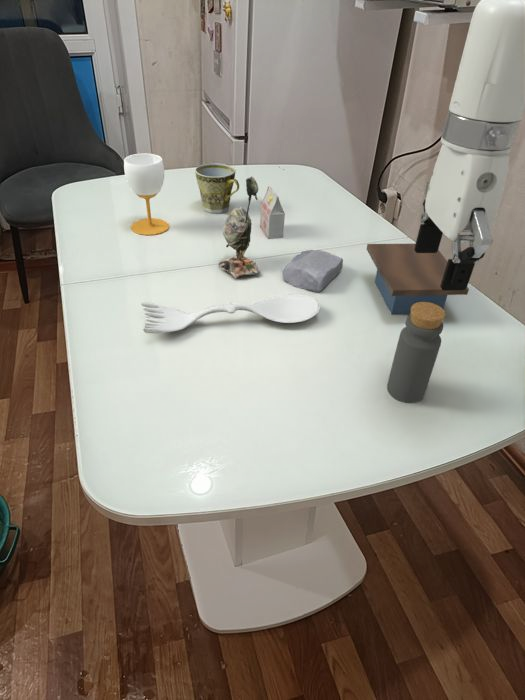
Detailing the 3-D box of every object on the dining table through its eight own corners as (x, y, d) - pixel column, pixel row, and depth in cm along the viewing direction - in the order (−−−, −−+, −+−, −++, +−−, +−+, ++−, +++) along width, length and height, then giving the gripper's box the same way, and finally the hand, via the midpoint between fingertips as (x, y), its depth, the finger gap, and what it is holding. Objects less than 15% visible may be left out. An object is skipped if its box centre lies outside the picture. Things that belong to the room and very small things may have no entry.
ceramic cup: (188, 208, 132) (186, 169, 126) (216, 198, 138) (215, 160, 132) (224, 223, 126) (224, 183, 120) (251, 212, 132) (252, 173, 126)
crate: (420, 281, 107) (427, 255, 103) (442, 313, 98) (450, 286, 94) (374, 281, 106) (379, 255, 102) (391, 314, 97) (397, 287, 93)
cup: (123, 231, 120) (113, 162, 110) (143, 216, 127) (136, 150, 117) (157, 238, 118) (150, 168, 108) (176, 223, 125) (171, 156, 115)
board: (432, 248, 106) (433, 243, 105) (467, 294, 92) (469, 289, 91) (366, 249, 105) (367, 243, 104) (391, 296, 90) (393, 290, 90)
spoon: (142, 315, 93) (140, 299, 91) (310, 300, 100) (311, 284, 97) (145, 345, 86) (142, 328, 84) (324, 326, 93) (326, 310, 91)
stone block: (278, 288, 106) (323, 294, 101) (276, 267, 103) (321, 271, 98) (304, 267, 114) (346, 271, 109) (302, 246, 112) (345, 250, 107)
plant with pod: (251, 253, 114) (253, 162, 102) (262, 278, 105) (266, 183, 93) (215, 255, 112) (213, 164, 100) (223, 282, 104) (222, 185, 91)
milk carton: (274, 225, 126) (276, 185, 120) (283, 237, 121) (286, 196, 115) (260, 226, 125) (261, 186, 119) (268, 238, 120) (270, 197, 114)
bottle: (414, 376, 83) (437, 297, 74) (431, 400, 78) (458, 320, 69) (380, 380, 82) (399, 301, 72) (395, 405, 77) (418, 324, 68)
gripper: (553, 157, 50) (495, 305, 60) (477, 113, 63) (441, 240, 74) (480, 156, 49) (434, 306, 59) (419, 111, 62) (391, 239, 73)
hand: (438, 269), depth 67 cm, fingers open, 9 cm apart
